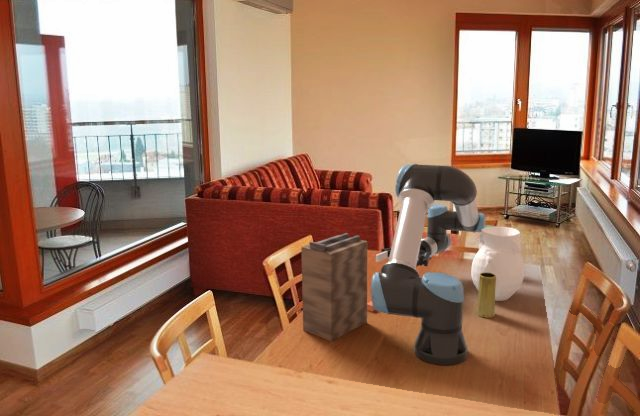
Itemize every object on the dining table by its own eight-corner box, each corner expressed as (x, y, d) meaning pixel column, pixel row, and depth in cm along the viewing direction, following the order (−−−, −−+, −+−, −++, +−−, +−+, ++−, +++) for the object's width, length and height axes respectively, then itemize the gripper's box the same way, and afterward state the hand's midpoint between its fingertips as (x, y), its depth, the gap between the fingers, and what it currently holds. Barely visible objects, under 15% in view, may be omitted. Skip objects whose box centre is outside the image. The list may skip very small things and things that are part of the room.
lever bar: (407, 290, 216) (407, 283, 215) (413, 291, 214) (413, 285, 214) (365, 310, 197) (365, 303, 197) (371, 312, 196) (371, 305, 195)
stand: (339, 313, 195) (338, 229, 188) (366, 322, 187) (367, 235, 180) (303, 330, 182) (301, 240, 175) (331, 341, 174) (330, 247, 167)
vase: (498, 314, 192) (500, 274, 189) (489, 319, 188) (492, 279, 185) (481, 309, 196) (483, 270, 193) (473, 314, 192) (475, 275, 189)
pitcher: (533, 298, 206) (538, 231, 200) (500, 309, 196) (504, 240, 190) (492, 283, 221) (495, 221, 215) (459, 293, 211) (462, 229, 205)
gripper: (451, 264, 212) (420, 279, 196) (396, 252, 228) (364, 265, 213) (452, 245, 210) (421, 259, 195) (396, 234, 226) (364, 246, 211)
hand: (391, 262), depth 204 cm, fingers open, 13 cm apart
